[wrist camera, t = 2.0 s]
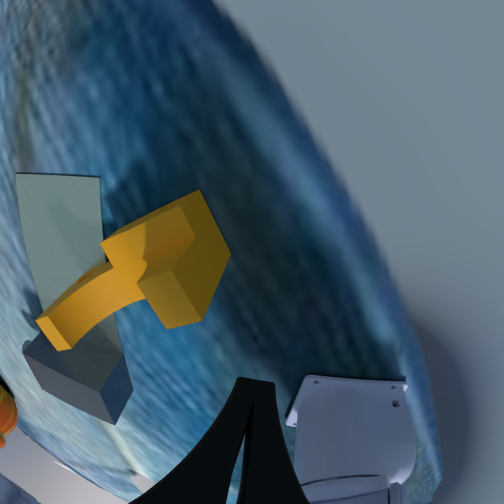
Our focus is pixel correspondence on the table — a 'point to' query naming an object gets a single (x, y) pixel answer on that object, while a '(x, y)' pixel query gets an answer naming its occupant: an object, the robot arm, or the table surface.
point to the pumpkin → (6, 414)
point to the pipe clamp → (146, 272)
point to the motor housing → (59, 280)
